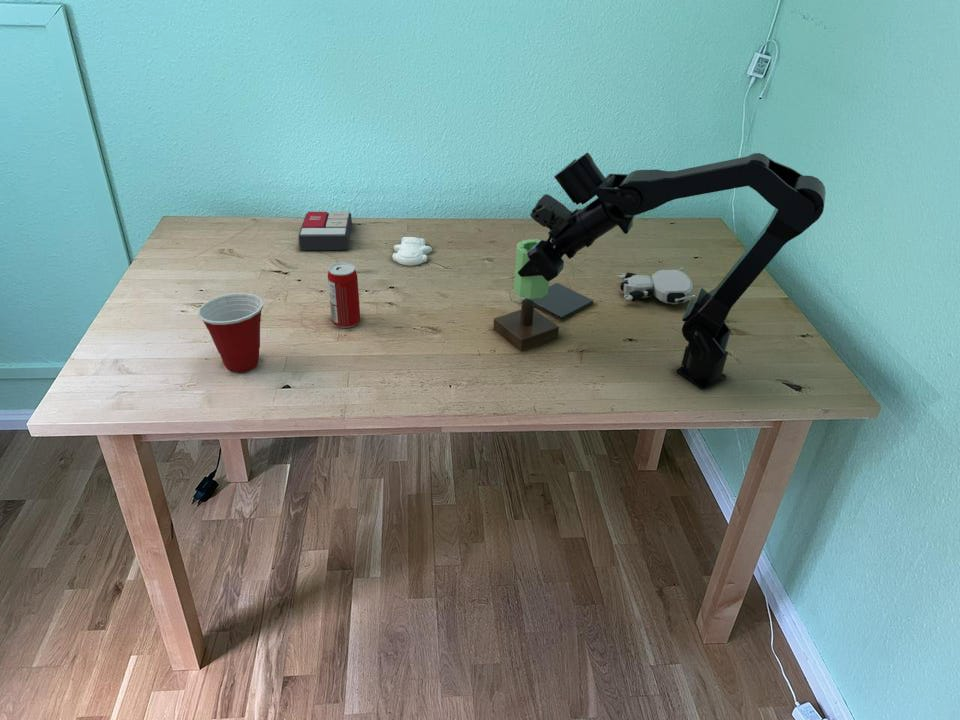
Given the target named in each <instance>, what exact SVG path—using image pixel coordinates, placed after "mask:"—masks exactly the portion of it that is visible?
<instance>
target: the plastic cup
mask: <svg viewBox="0 0 960 720" xmlns="http://www.w3.org/2000/svg"><path fill="white" fill-rule="evenodd" d="M263 308H264V300H263V298H261V297H260V296H259V295H257V294H253V293H249V292H235V293H227V294H223V295H220V296H219V295H218V296H216V297H213V298H211V299H209V300H208V301H205V302H204V303H202V304H201V306H199V308H198V309H197V317H198V318H199V319H200V320H201V321H202V322H203V324H204V325H205V327H206V329H207V331H208V333H209V335H210V337H211V340H212V342H213V344H214V346H215V348H216V350H217V353H218V354H219V356H220V358H221V361H222V364H223V365H224V367H225V368H226V369H227V371H229V372H232V373H240V374H241V373H246V372H250V371H252V370H253V369H255V368H257V366H258V365H259V364H260V363H259V361H260V348H261V321H262V310H263Z"/></svg>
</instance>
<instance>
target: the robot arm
mask: <svg viewBox="0 0 960 720" xmlns="http://www.w3.org/2000/svg"><path fill="white" fill-rule="evenodd" d="M553 178H554V179H555V180H556V181H557V183H558V184H559V186H560V187H561V189H562V190H563V191H564V192H565V194H566V195H567V197H568V198H569V200H571V202H572V203H573V204H575V205H576V206H578V205H579V204H581V205H582V206H583V205H584V204H586V203H588V202H589V201H591V200H592V199H593V198H594V197H597V198H595V199H594V200H592V201H591V202H590V203H588V204H586V206H584V207H583V208H575V209H574V210H572V211H571V210H570V209H569V208H567V206H566V205H565V204H564V203H562V202H560V201H559V200H558V199H556V198H555V197H553V196H552V195H550V194H547V193H546V194H543V196H542V197H541V198H539V200H538V201H537V203H536V204H535V206H534V208H533V209H532V210H531V212H530V217H531V219H532V220H534V221H535V222H536V223H537V224H539V225H540V226H542V228H543V227H544V228H545V227H546V228H547V229H549V231H548V232H547V234H548V238H547V239H546V240H543V239H540V240H541V241H540V242H538V243H537V244H535V245H534V246H533V247H532V248H531V249H530V250H529V251H528V253H527V255H528V258H529V259H530V260H529V261H528V262H527V263H526V264H525V265H524V266H523V267H522V268H521V269H520V270H519V271H518V274H519V275H520V276H521V277H527V276H543V277H544V278H545V280H547V281H549V282H550V281H552V280H554V279H555V278H557V277H558V276H559V275H560V273H561V272H562V271H563V270H564V266H565V265H564V264H565V261H564V260H563V257H564V255H565V256H566V257H567V259H568V260H571V259H572V258H573V257H575V256H576V254H577V253H578V252H579V251H581V250H582V249H583V248H589V247H591V246H592V245H593V244H594V242H595V241H596V240H597V239H599V238H601V237H602V236H604V235H605V234H608V232H610V231H611V230H613V229H614V228H616V227H617V226H618V228H619V229H620V230H621V232H622V233H623V234H625V235H627V234H628V233H629V232H630V230H631V229H632V227H633V226H634V225H633V224H634V218H635V216H638V215H641V214H644V213H646V212H649V211H652V210H655V209H657V208H660V207H661V206H663V205H664V204H667V203H668V202H671V201H675V200H678V199H684V198H689V197H695V196H701V195H705V194H711V193H717V192H723V191H728V190H733V189H738V188H743V187H749V188H751V189H753V191H755V192H757V193H758V194H759V196H761V197H762V198H763V199H764V200H765V201H766V202H767V203H768V204H769V205H770V206H772V207H773V208H774V210H773V211H772V213H771V215H770V218H769V219H768V221H767V223H766V225H765V226H764V227H763V229H762V230H761V231H760V232H759V233H758V235H757V236H756V237H755V239H754V240H753V241H752V242H751V243H750V245H749V246H748V247H747V248H746V250H744V252H743V254H742V255H741V256H740V257H739V259H738V260H736V262H735V263H734V265H733V266H732V267H731V268H730V270H729V271H728V272H727V273H726V275H725V276H724V277H723V278H722V280H721V281H720V282H719V283H718V285H716V286H715V288H713V289H711V290H710V291H708V292H707V290H705V289H704V288H703V287H701V288H700V289H699V291H698V294H697V295H696V296H695V297H694V298H693V300H691V301H690V302H688V305H687V307H686V310H685V312H684V315H683V317H682V322H683V325H682V327H681V332H682V333H681V334H682V336H683V338H684V339H685V340H686V341H687V342H688V344H687V346H685V349H684V352H683V356H682V360H681V366H679V367H678V368H676V370H675V372H676V373H677V374H678V375H679V376H681V377H683V378H684V379H685V380H686V381H689V382H690V383H692V384H693V385H694V386H696V387H697V388H699V389H701V390H706V389H708V388H710V387H712V386H714V385H716V384H718V383H721V382H722V381H724V380H726V379H727V375H726V374H724V373H723V372H724V368H725V365H726V362H727V359H728V355H729V352H728V351H727V350H726V349H727V346H728V342H729V339H730V336H731V332H732V330H731V328H730V327H729V325H728V324H727V323H726V319H727V318H728V315H729V313H730V311H731V309H732V307H733V306H734V305H735V304H736V303H737V301H738V300H739V299H741V297H742V296H743V294H745V292H746V291H747V290H748V289H749V288H750V286H751V285H752V284H753V283H754V282H755V281H756V279H758V277H759V276H760V274H761V273H762V272H763V271H764V269H765V268H766V267H767V266H768V265H769V264H770V262H771V261H772V260H773V259H774V258H775V257H776V255H778V253H779V252H780V251H781V249H783V247H784V246H785V245H786V244H787V243H788V242H790V241H792V240H793V239H795V238H797V237H798V236H800V235H801V234H803V233H804V232H805V231H806V230H807V229H809V228H810V227H811V226H812V225H814V223H816V222H818V220H819V219H820V218H821V217H822V215H823V213H824V209H825V201H826V193H827V192H826V186H825V185H824V183H823V182H822V180H820V179H819V178H818V177H816V176H813V175H803V174H801V173H800V172H798V171H797V170H796V169H793V168H792V167H790V166H788V165H785V164H782V163H780V162H777V161H775V160H773V159H771V158H770V157H768V156H767V155H766V154H764V153H761V152H753V153H751V154H749V155H747V156H742V157H737V158H731V159H728V160H722V161H717V162H713V163H712V162H711V163H708V164H703V165H698V166H694V167H693V166H692V167H688V168H684V169H678V170H661V169H636V170H634V171H631V172H630V173H627V174H626V173H608V174H607V176H604V174H603V173H602V171H601V170H600V169H599V167H598V165H597V164H596V162H595V160H594V159H593V157H592V156H591V154H590V153H589V152H585V153H584V154H583V155H581V156H579V157H577V158H574V159H573V160H572V161H571V162H569V163H568V164H567V165H565V166H564V167H563V168H562V169H561V170H559V171H558V172H557V173H556V174H555V175H553Z"/></svg>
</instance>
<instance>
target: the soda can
mask: <svg viewBox="0 0 960 720" xmlns="http://www.w3.org/2000/svg"><path fill="white" fill-rule="evenodd" d="M327 283H328V294H329V304H330V313H331V314H330V315H331V322H332V323H333V325H335V326H336V327H337V328H340V329H341V328H342V329H348V328H353V327H355V326H357V324H359V323H360V322H361V309H360V307H361V306H360V292H359V280H358V273H357V271H356V267H355V265H354V264H352V263H351V262H345V261H342V262H335V263H333V264H330V265H329V267H328V271H327Z"/></svg>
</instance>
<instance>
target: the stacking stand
mask: <svg viewBox="0 0 960 720" xmlns="http://www.w3.org/2000/svg"><path fill="white" fill-rule="evenodd" d="M520 306H521V308H520V309H519V310H515V311H512V312H509V313H506V314H504V315H501V316H497V317H495V318H493V327H492V328H493V330H494V332H496V333H497V334H499V335H500V336H501V337H503V338H504V339H505V340H506V341H508V342H509V343H510V344H511V345H512V346H514V347H516V348H517V349H518V350H519V351H521V352H523V351H526V350H528V349H531V348H533V347H536V346H540V345H542V344H544V343H547V342H549V341H553V340H554V339H558V338H559V331H560V326H559V325H558V324H556V323H555V322H553V321H552V320H551V319H549V318H548V317H546V316H545V315H543V314H542V313H540V312H539V311H537V309H535V307H534V301H533V300H530V299H526V298H524V299H523V300H522V301H521V305H520Z"/></svg>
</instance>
